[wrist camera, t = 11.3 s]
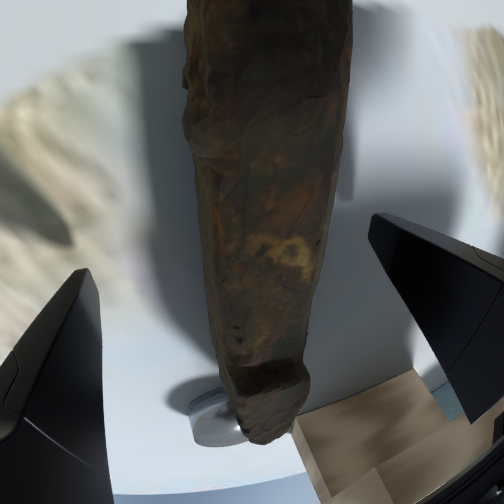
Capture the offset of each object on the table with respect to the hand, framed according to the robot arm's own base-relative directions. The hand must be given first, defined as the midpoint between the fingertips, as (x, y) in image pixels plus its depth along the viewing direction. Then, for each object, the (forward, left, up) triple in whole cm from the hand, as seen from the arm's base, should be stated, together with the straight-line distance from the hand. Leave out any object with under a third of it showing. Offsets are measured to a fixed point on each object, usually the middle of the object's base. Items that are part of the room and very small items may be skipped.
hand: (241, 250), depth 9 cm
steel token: (+1, +11, -1) cm, 12 cm away
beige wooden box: (-9, +14, -1) cm, 17 cm away
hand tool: (-1, -1, -2) cm, 2 cm away
